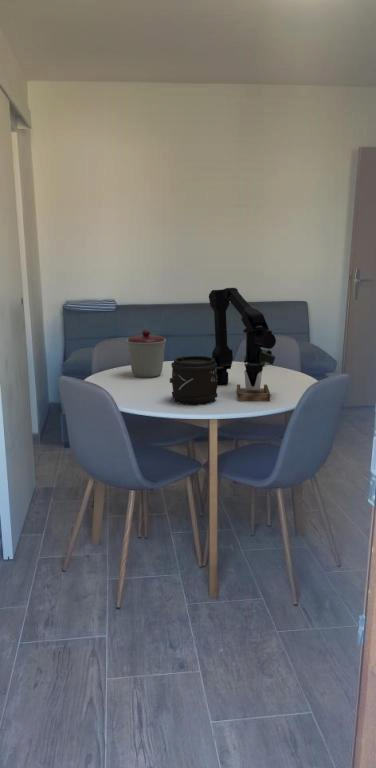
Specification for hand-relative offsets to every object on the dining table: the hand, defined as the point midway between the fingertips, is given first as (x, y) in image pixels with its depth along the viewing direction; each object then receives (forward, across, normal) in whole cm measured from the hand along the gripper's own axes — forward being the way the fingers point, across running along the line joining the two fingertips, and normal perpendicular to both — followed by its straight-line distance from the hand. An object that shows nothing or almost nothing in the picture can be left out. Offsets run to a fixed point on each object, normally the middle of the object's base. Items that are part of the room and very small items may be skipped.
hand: (252, 384), depth 231 cm
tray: (+4, -2, 0) cm, 5 cm away
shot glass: (+2, 0, 0) cm, 2 cm away
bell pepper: (+5, +60, -6) cm, 60 cm away
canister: (+5, +36, +46) cm, 59 cm away
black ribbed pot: (+4, -8, +23) cm, 25 cm away
